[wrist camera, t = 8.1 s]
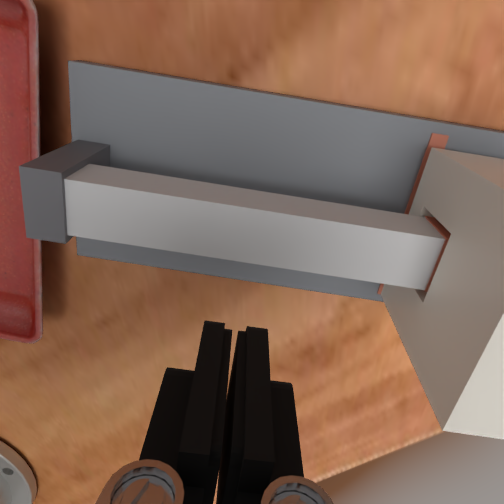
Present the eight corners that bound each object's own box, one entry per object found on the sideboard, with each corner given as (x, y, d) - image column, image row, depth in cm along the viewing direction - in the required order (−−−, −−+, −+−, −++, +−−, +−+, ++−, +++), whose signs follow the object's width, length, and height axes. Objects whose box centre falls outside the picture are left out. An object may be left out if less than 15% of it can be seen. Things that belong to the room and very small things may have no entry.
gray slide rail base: (465, 304, 24) (524, 380, 19) (85, 245, 24) (27, 307, 18) (542, 137, 20) (651, 171, 14) (79, 60, 19) (-2, 63, 14)
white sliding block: (452, 305, 22) (553, 446, 14) (380, 294, 22) (442, 430, 14) (517, 161, 18) (700, 241, 11) (431, 147, 18) (552, 218, 10)
